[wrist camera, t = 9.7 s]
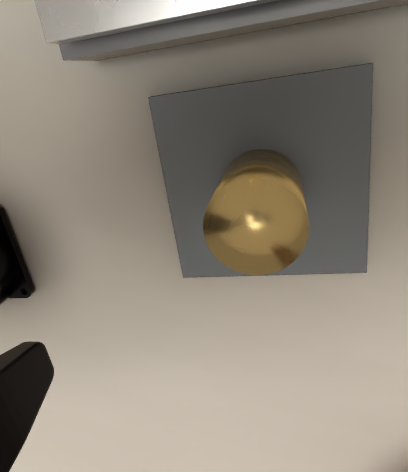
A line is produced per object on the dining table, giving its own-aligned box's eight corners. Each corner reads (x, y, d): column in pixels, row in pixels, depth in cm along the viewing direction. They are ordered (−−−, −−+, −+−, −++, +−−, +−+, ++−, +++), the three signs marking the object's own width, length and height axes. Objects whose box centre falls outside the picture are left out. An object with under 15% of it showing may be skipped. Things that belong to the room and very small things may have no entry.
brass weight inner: (303, 223, 19) (310, 273, 14) (226, 228, 20) (210, 276, 15) (300, 144, 17) (307, 173, 13) (216, 153, 18) (195, 183, 14)
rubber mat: (364, 266, 20) (366, 272, 19) (185, 272, 22) (183, 277, 22) (370, 63, 16) (373, 63, 15) (152, 96, 18) (148, 97, 18)
